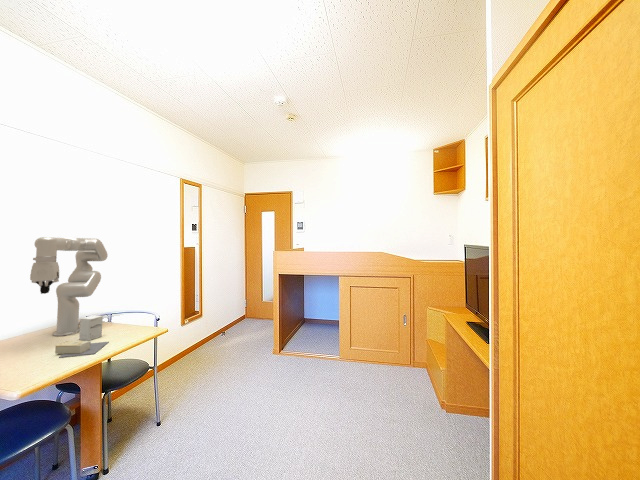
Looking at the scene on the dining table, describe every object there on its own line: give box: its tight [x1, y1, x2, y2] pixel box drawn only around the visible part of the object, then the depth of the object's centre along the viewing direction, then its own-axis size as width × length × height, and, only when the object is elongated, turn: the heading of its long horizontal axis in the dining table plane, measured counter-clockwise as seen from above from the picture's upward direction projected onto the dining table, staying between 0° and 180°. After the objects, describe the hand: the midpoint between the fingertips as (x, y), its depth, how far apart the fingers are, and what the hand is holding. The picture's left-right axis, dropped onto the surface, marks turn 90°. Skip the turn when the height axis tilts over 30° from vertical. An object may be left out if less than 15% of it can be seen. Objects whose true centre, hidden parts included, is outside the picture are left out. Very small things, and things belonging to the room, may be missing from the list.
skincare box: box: [54, 340, 92, 355], centre depth 126 cm, size 6×4×12 cm
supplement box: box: [78, 314, 103, 341], centre depth 146 cm, size 7×7×13 cm
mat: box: [58, 341, 110, 359], centre depth 130 cm, size 16×14×1 cm
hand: (44, 293), depth 133 cm, fingers closed
